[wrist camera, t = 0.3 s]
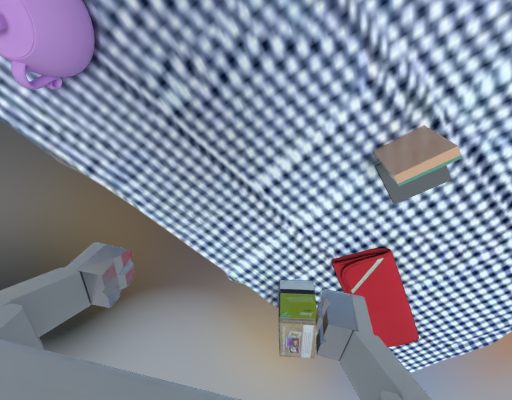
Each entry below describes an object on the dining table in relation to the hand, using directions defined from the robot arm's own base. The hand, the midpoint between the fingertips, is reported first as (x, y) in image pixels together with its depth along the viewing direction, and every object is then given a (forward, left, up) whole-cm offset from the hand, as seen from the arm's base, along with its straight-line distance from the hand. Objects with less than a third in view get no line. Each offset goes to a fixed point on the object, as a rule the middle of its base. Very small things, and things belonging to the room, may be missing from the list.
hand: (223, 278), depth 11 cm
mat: (+14, +31, -47) cm, 58 cm away
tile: (+8, +27, -47) cm, 55 cm away
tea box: (+58, +11, -48) cm, 76 cm away
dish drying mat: (+56, +35, -48) cm, 82 cm away
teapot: (-10, -43, -48) cm, 65 cm away
